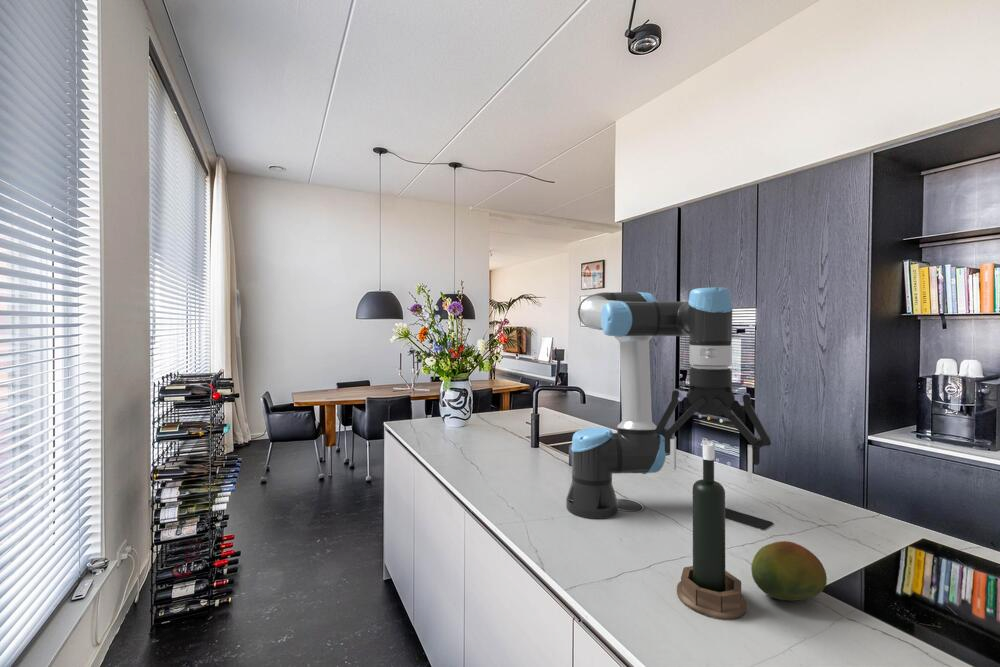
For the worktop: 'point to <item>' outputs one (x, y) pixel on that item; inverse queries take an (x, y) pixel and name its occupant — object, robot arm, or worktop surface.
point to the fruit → (788, 571)
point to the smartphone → (747, 520)
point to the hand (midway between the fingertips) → (710, 475)
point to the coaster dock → (712, 597)
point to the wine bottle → (709, 526)
